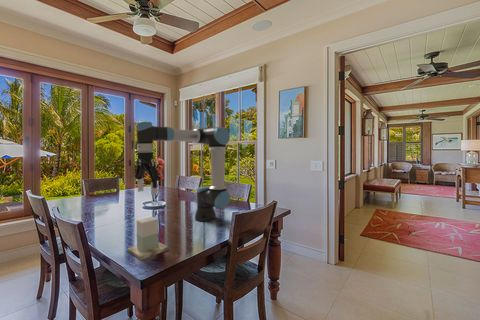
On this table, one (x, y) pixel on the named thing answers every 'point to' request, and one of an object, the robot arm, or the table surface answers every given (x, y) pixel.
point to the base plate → (148, 253)
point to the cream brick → (147, 226)
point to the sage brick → (147, 242)
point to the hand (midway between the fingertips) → (147, 192)
